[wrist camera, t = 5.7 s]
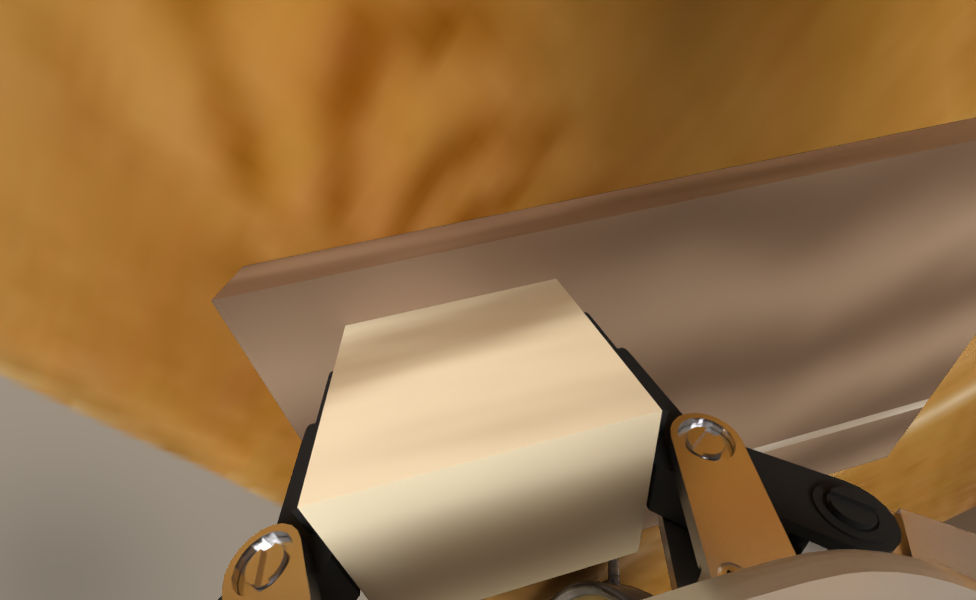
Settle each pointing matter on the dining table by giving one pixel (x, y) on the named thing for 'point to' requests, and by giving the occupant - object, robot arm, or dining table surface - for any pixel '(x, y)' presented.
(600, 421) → the cream square mallet
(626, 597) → the alarm clock
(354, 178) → the dining table surface
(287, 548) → the robot arm
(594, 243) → the wooden cutting board
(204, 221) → the dining table surface
